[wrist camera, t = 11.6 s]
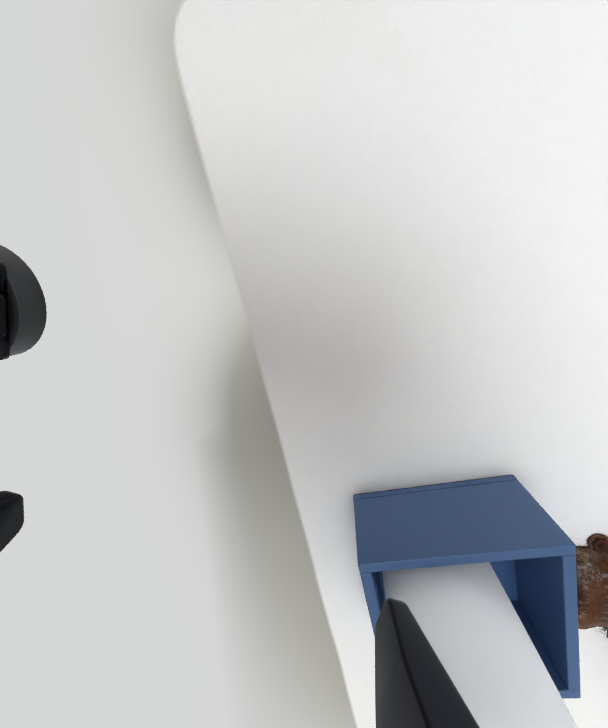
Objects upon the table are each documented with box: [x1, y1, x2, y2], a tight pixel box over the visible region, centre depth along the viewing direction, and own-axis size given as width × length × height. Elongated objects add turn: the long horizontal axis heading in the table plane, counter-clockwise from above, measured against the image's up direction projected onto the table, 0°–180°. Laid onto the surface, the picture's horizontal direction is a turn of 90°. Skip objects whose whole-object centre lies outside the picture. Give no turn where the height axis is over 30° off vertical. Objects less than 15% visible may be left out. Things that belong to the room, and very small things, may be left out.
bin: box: [353, 475, 580, 698], centre depth 19 cm, size 10×10×6 cm
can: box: [382, 562, 577, 728], centre depth 16 cm, size 6×6×12 cm
